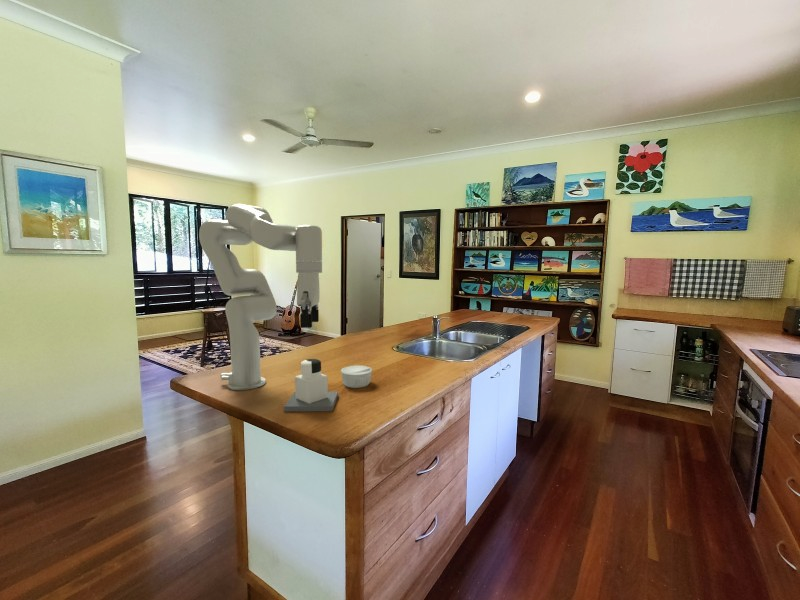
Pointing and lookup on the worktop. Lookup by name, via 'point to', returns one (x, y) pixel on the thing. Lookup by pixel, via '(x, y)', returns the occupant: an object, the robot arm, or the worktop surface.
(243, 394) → the worktop surface
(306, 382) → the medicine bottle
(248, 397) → the worktop surface
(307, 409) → the rubber mat
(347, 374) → the ramekin
